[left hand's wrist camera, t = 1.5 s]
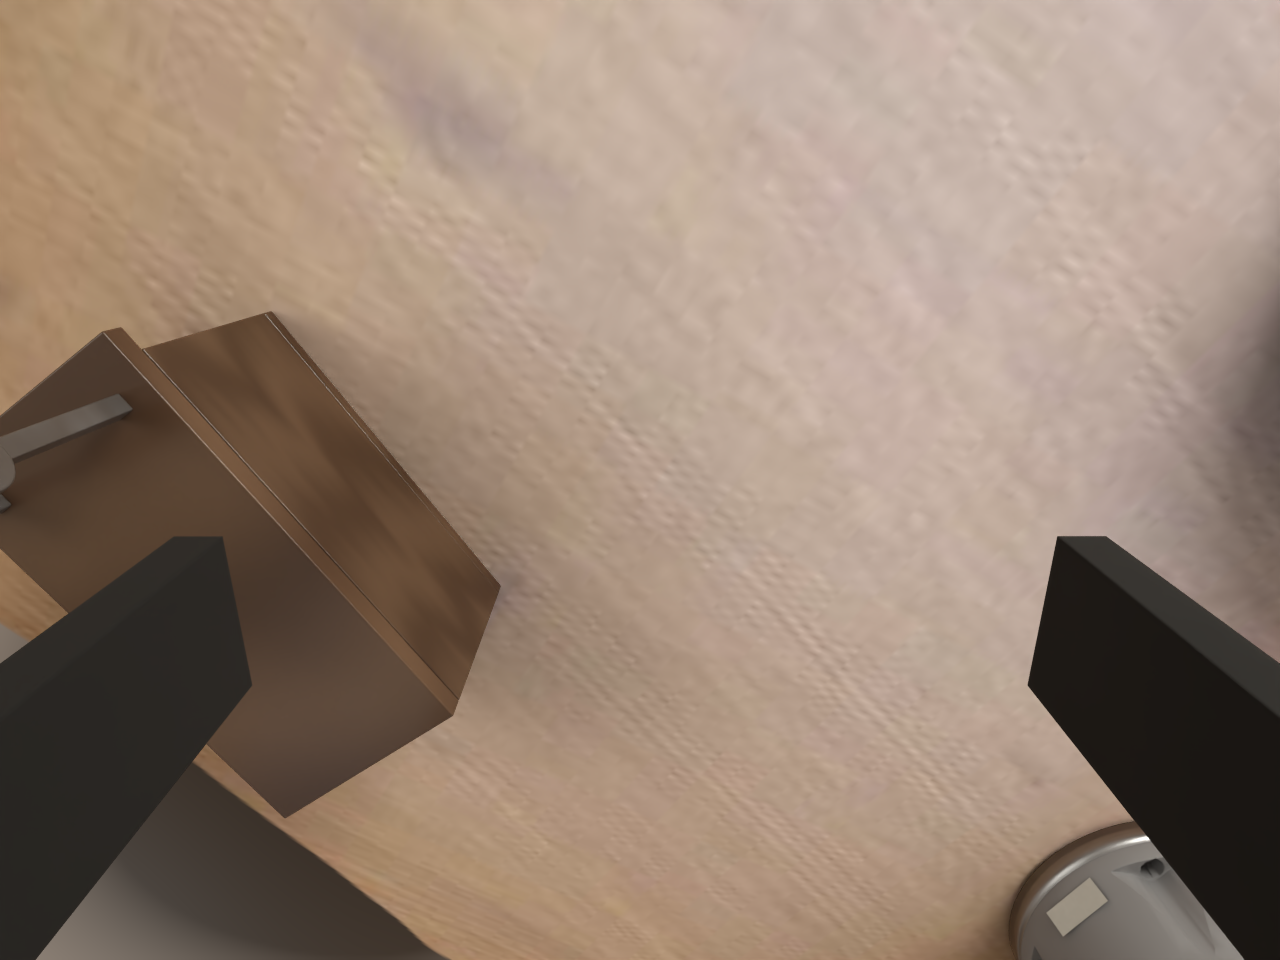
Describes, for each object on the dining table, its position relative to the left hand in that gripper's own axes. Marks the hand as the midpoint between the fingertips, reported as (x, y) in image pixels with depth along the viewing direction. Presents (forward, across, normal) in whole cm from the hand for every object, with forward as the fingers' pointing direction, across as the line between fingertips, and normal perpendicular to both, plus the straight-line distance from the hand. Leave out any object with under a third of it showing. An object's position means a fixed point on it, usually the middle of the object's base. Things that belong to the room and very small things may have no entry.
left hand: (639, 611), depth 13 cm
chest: (+26, -16, -9) cm, 32 cm away
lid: (+16, -16, -8) cm, 24 cm away
